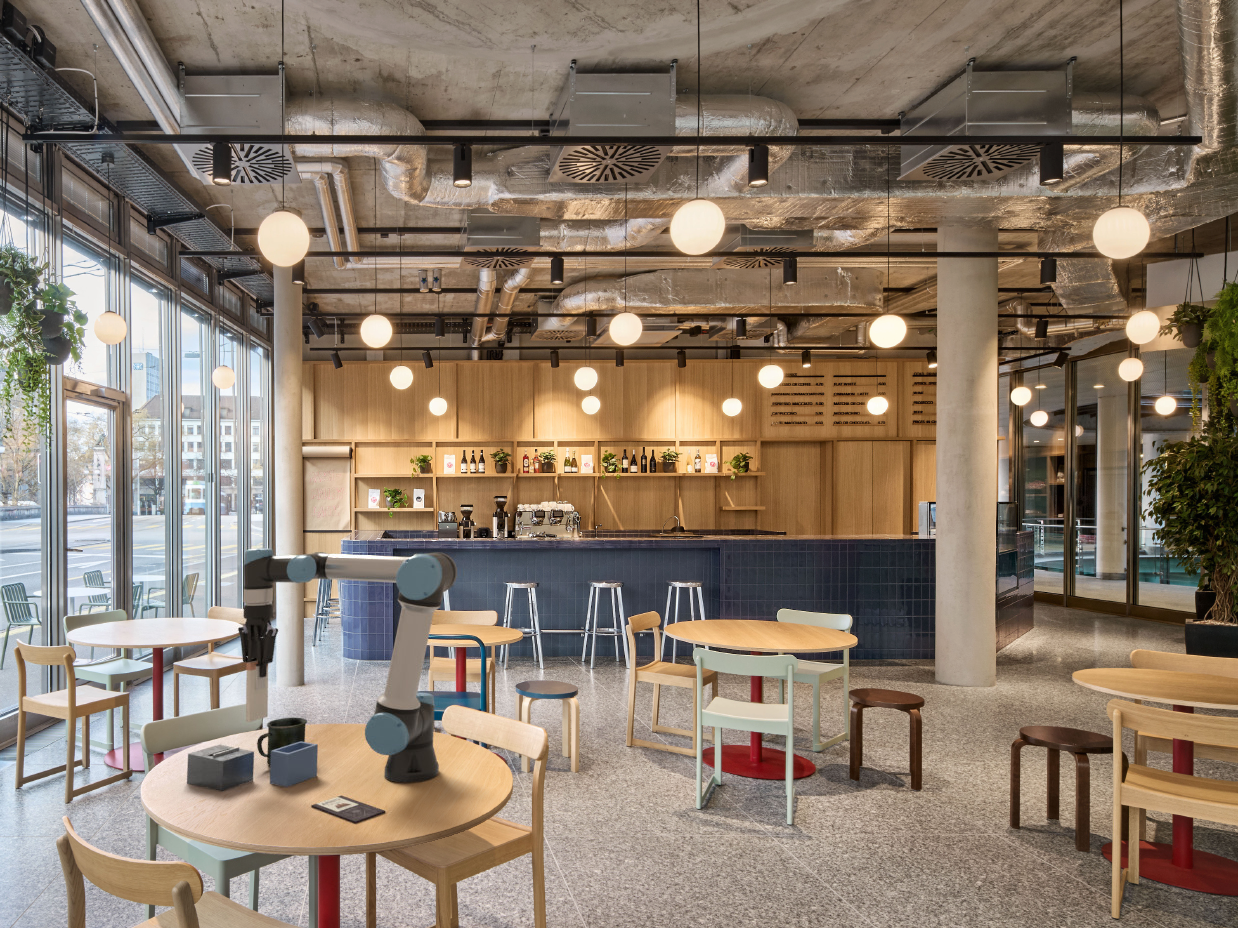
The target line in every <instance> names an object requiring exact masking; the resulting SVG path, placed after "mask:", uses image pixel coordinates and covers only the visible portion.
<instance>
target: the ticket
mask: <svg viewBox="0 0 1238 928" xmlns="http://www.w3.org/2000/svg"><path fill="white" fill-rule="evenodd" d="M262 661H263V660H262ZM256 664H258V661H253V662H248V663H246V666H245V667H246V669H245V670H246V677H245V678H246V682H245V683H246V684H245V685H246V690H245V691H246V696H245V698H246V699H245V700H246V701H245V702H246V703H245V721H246V722H249V723H251V722H254V721H257V720H261V719H265V718H268V714H269V713H268V711H269V710H268V705H269V704H268V700H269V698H268V697H269V664H267V672H266V673H267V675H266V677H265V688H263V689H259V690H255V676H256Z"/></svg>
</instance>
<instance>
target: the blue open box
mask: <svg viewBox="0 0 1238 928" xmlns="http://www.w3.org/2000/svg"><path fill="white" fill-rule="evenodd" d="M318 747H319V746H318V744H317V743H311V742H306V741H305V742H302V741H300V742H297V743H294V744H291V745H288V746H285V747H281V748H278V749H275V750H272V751H271V761H270V766H269V769H270V770H269V784H271V785H276V786H280V787H286V788H289V787H291V786H294V785H296V784H299V783H301V782H304V781H307V780H310V779H312V778H313V779H314V777H317V775H318V753H319V752H318V751H319V749H318Z"/></svg>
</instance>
